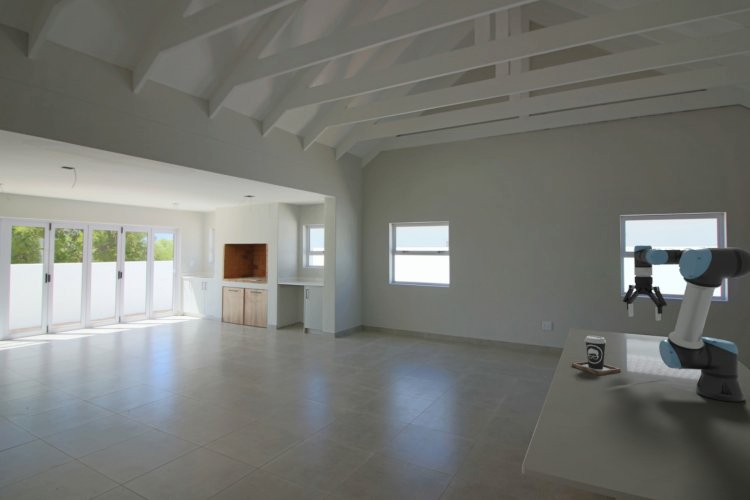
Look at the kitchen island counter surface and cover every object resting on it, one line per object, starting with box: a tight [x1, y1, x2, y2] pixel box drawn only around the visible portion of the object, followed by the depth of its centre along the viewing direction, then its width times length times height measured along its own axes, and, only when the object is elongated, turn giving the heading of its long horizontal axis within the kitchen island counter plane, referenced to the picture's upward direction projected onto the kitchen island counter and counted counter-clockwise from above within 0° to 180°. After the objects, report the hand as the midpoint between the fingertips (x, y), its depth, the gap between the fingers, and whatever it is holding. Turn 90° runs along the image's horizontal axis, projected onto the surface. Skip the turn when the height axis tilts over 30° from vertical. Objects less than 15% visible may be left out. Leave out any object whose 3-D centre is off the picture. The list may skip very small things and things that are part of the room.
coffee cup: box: [584, 335, 607, 369], centre depth 198 cm, size 10×10×15 cm
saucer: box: [582, 364, 610, 371], centre depth 198 cm, size 13×13×1 cm
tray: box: [571, 360, 622, 376], centre depth 198 cm, size 16×14×3 cm
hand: (644, 318), depth 198 cm, fingers open, 13 cm apart
